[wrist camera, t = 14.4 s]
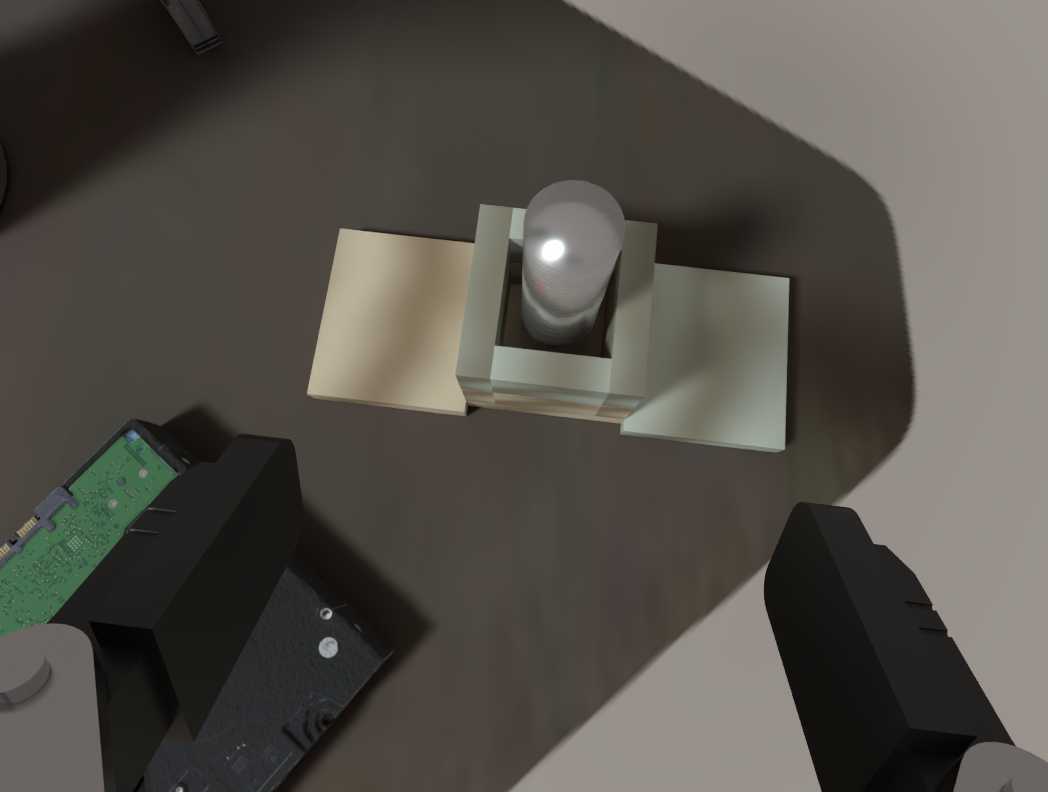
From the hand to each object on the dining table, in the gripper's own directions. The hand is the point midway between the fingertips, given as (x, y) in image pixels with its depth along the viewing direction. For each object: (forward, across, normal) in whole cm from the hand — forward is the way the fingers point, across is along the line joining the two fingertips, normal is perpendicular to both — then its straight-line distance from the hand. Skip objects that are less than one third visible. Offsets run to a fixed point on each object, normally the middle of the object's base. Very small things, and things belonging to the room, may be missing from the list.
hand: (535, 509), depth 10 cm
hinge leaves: (+18, 0, +6) cm, 19 cm away
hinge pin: (+18, 0, +6) cm, 19 cm away
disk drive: (+9, +14, +17) cm, 24 cm away
